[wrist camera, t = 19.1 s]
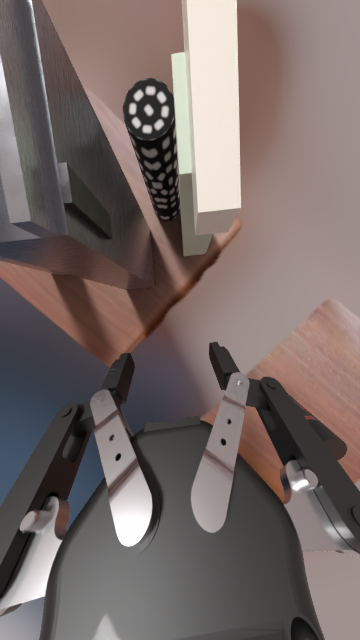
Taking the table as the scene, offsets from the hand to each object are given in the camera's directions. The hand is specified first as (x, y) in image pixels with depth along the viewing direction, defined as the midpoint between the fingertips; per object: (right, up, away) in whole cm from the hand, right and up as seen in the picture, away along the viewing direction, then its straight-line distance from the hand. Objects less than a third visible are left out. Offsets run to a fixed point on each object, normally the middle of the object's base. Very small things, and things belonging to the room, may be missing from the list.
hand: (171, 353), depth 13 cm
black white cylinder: (-3, +39, +27) cm, 47 cm away
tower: (-13, +23, +29) cm, 39 cm away
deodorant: (+38, -25, +32) cm, 56 cm away
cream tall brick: (+4, +26, +2) cm, 27 cm away
